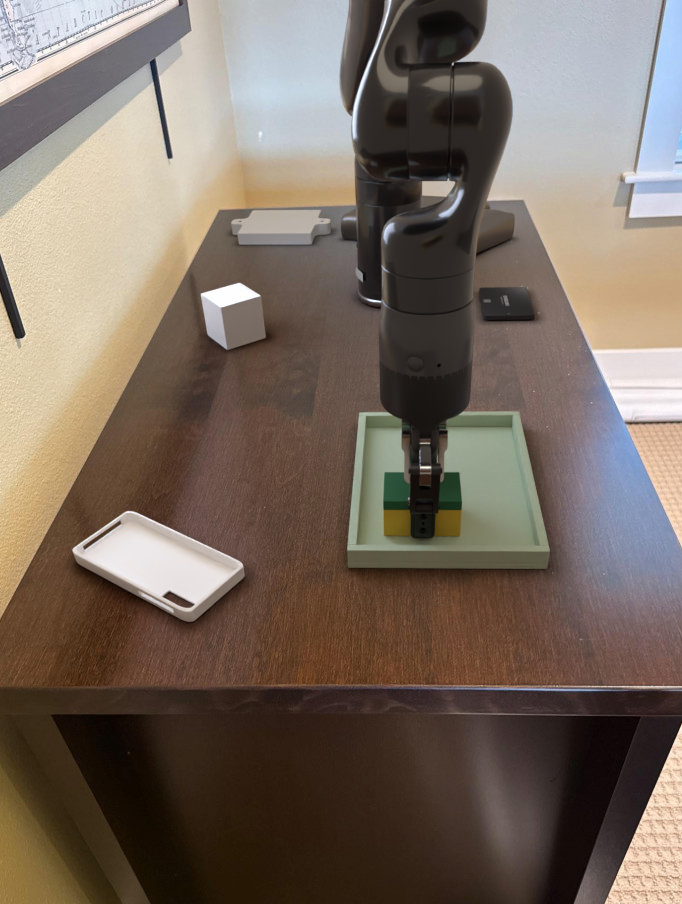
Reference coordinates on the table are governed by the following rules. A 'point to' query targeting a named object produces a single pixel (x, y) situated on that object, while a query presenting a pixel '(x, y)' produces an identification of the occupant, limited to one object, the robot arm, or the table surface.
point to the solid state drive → (506, 303)
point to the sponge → (397, 503)
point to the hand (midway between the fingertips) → (422, 517)
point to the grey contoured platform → (491, 231)
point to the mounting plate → (281, 227)
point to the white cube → (233, 315)
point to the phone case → (160, 564)
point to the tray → (482, 488)
